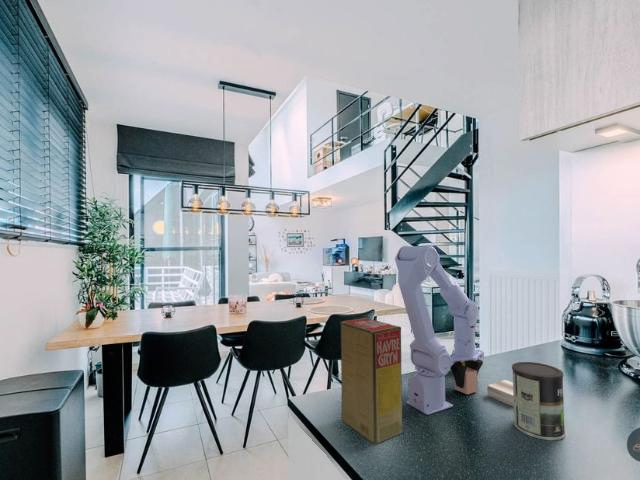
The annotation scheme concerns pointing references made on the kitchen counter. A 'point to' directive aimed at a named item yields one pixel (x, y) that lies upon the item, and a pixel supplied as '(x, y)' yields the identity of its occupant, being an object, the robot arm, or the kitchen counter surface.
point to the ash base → (502, 392)
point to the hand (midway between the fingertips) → (465, 385)
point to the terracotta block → (468, 382)
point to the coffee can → (538, 400)
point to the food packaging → (371, 378)
